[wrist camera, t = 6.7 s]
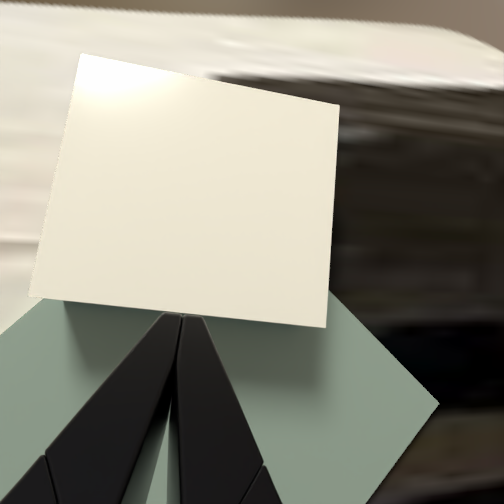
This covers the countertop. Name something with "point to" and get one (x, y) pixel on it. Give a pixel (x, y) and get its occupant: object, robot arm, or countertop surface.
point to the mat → (244, 384)
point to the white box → (190, 198)
